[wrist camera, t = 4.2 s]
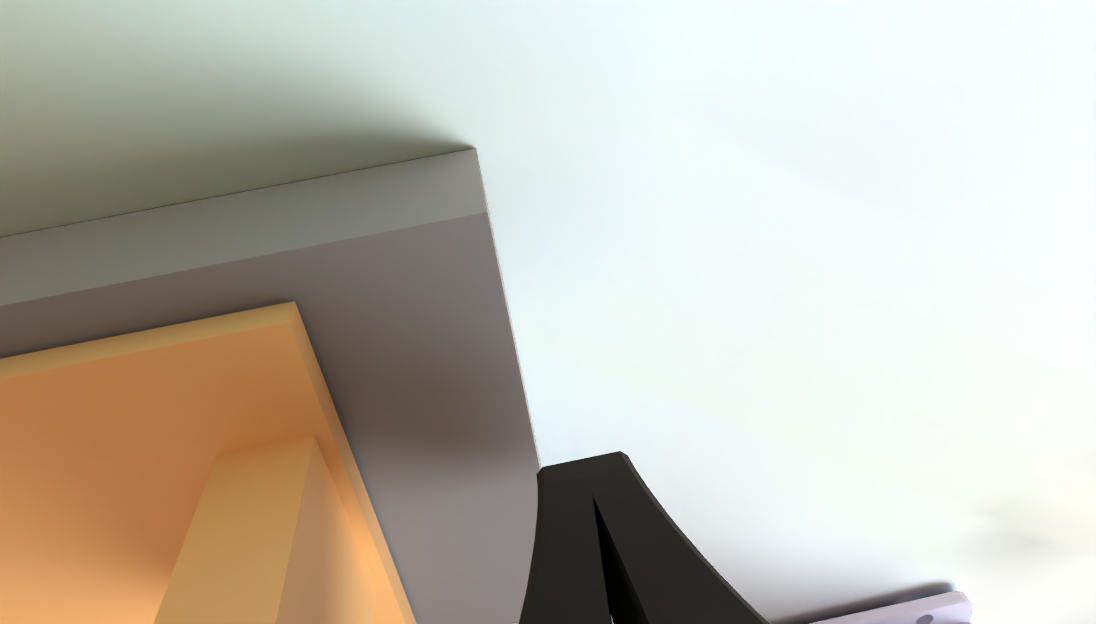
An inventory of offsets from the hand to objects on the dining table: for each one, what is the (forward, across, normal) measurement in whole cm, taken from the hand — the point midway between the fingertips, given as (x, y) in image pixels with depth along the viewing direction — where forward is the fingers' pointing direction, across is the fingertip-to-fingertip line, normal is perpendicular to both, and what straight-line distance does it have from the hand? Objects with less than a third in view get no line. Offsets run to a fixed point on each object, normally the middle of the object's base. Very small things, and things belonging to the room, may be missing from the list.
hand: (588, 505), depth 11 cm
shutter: (+2, +8, 0) cm, 8 cm away
